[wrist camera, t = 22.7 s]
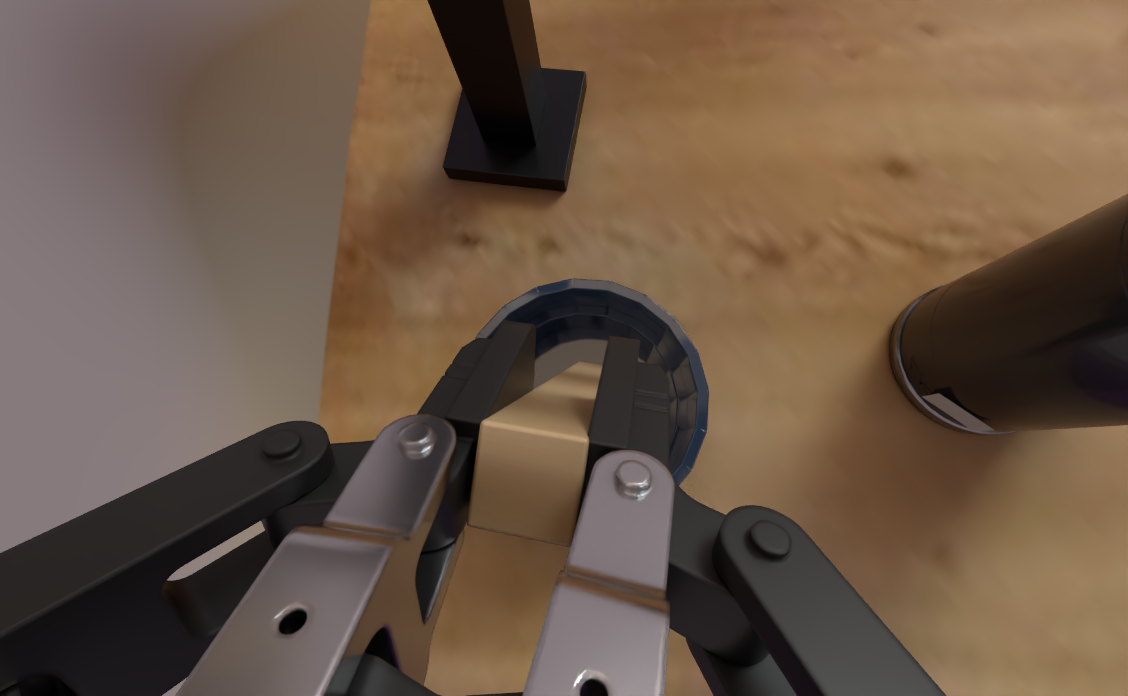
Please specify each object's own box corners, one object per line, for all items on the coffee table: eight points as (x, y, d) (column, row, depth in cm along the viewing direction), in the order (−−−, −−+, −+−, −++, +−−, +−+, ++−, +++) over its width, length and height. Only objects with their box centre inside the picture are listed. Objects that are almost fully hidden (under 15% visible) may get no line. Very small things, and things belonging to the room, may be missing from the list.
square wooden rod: (616, 559, 8) (634, 446, 7) (423, 519, 8) (437, 412, 8) (624, 390, 29) (629, 361, 29) (572, 382, 30) (577, 353, 30)
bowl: (619, 278, 33) (621, 237, 27) (729, 446, 30) (760, 444, 24) (453, 374, 33) (416, 355, 27) (547, 555, 30) (531, 582, 24)
